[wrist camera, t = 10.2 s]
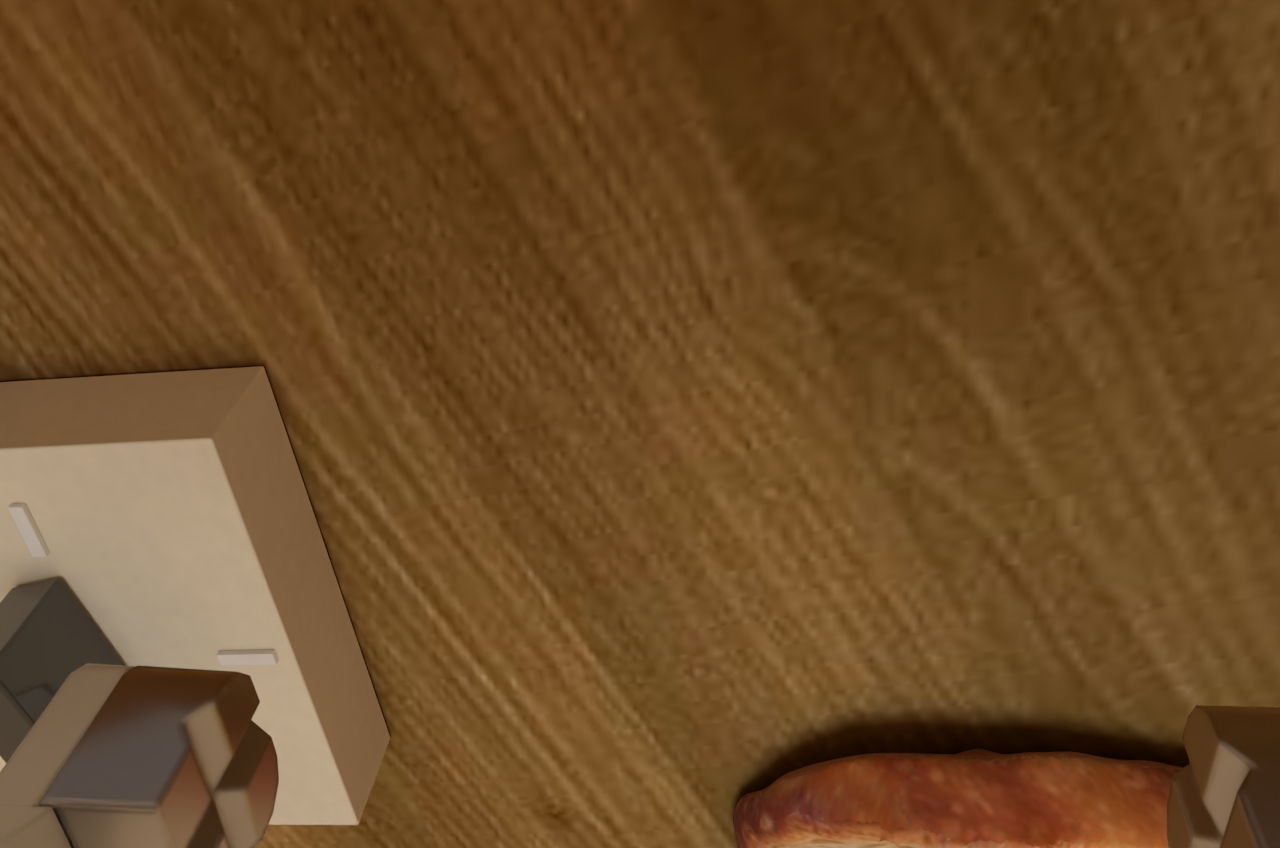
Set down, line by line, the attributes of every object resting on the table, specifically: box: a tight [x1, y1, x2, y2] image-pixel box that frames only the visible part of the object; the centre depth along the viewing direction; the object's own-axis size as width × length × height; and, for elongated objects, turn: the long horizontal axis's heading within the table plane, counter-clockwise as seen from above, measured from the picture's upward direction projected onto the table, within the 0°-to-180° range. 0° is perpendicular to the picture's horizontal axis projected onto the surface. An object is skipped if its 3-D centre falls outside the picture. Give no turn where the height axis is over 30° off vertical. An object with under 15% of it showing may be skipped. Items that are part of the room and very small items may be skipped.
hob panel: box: [0, 366, 390, 825], centre depth 30 cm, size 12×10×3 cm
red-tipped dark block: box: [0, 578, 125, 763], centre depth 28 cm, size 5×1×3 cm, turn 19°
